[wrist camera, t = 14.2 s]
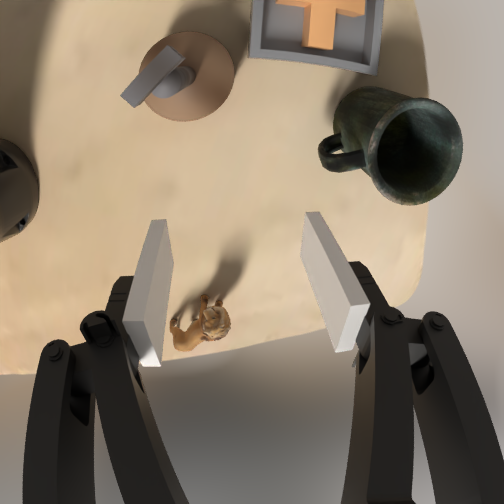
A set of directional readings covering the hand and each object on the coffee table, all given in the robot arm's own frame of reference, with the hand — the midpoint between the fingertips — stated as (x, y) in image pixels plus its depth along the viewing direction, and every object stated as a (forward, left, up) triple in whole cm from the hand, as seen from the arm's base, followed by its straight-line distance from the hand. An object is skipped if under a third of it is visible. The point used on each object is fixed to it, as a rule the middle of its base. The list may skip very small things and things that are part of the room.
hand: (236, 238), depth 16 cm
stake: (-4, +7, -22) cm, 24 cm away
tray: (+9, +18, -22) cm, 30 cm away
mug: (+16, +2, -22) cm, 27 cm away
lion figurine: (-5, -28, -22) cm, 36 cm away
